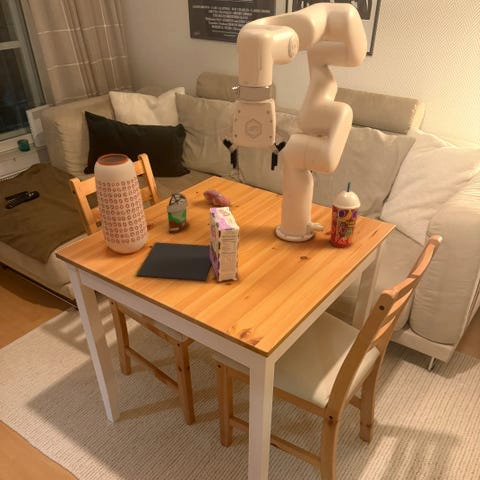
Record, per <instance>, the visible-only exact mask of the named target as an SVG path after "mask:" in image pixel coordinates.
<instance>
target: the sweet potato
mask: <svg viewBox="0 0 480 480" xmlns="http://www.w3.org/2000/svg"><path fill="white" fill-rule="evenodd" d="M203 197H204V198H205V199H206V200H207V201H209V203H210V204H212V205H216V206H217V207H221V206H223V207H230V206H231V201H230V199H228V198H226V196H225V195H224V194H222V193H220V192H219V191H217V190H215V189H210V188H208V189H207V190H205V191H204V192H203Z"/></svg>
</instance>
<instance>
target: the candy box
mask: <svg viewBox="0 0 480 480" xmlns="http://www.w3.org/2000/svg"><path fill="white" fill-rule="evenodd" d="M239 243H240V226H239V225H238V223H237V221H236V219H235V217H234V215H233V213H232V211H231V209H230V206H217V207H209V246H210V261H211V266H212V269H213V272H214V274H215V275H214V276H215V277H216V280H217V282H231V281H237V279H238V261H239V246H240V245H239Z"/></svg>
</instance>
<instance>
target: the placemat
mask: <svg viewBox="0 0 480 480" xmlns="http://www.w3.org/2000/svg"><path fill="white" fill-rule="evenodd" d="M211 266H212V263H211V261H210V245H204V244H203V245H202V244H201V245H200V244H187V243H186V244H184V243H170V242H169V243H167V242H155V243H154V245H153V247H152V248H151V250H150V252H149V254H148V255H147V257H146V259H145V261H144V262H143V264H142V265H141V267H140V269H139V270H138V272H137V274H136V277H141V278H142V277H143V278H154V279H155V278H156V279H171V280H182V281H184V280H185V281H197V282H205V281H206V279H207V276H208V274H209V270H210V268H211Z"/></svg>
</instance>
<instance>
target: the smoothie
mask: <svg viewBox="0 0 480 480" xmlns="http://www.w3.org/2000/svg"><path fill="white" fill-rule="evenodd" d="M350 188H351V182H350V181H348V182H347V188H346V190H342V191H341V192H339V193H338V194H337V195H335V197H334V199H333V200H332V202H331V204H332V207H331V223H330V224H331V226H330V242H331V244H332V245H333V246H335V247H338V248H345V247H348V246H349V245H350V244H351V243H352V242H353V237H354V232H355V229H356V224H357V220H358V216H359V212H360V207H361V201H360V199H359V197H358V195H357V194H356V193H355V192H354V191H352V190H351V189H350Z"/></svg>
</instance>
